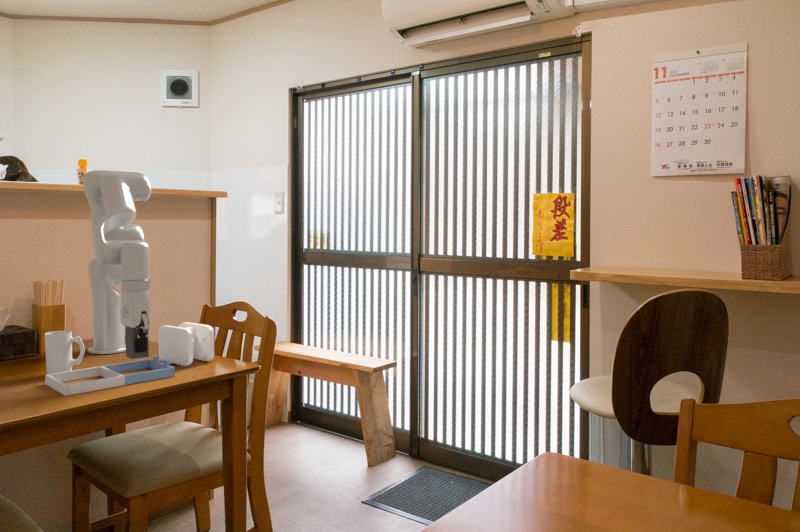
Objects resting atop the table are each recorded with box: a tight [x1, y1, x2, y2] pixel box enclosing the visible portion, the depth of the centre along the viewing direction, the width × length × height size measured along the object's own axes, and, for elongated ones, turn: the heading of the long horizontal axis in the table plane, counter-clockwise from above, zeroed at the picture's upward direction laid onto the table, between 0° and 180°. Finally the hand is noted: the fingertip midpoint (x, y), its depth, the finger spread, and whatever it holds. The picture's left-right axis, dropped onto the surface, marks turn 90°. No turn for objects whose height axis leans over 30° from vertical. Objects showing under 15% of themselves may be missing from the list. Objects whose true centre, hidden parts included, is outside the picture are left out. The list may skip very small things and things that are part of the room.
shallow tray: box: [44, 354, 176, 397], centre depth 168 cm, size 16×28×4 cm, turn 136°
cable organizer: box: [157, 321, 215, 367], centre depth 190 cm, size 15×11×12 cm
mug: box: [44, 330, 86, 375], centre depth 173 cm, size 10×7×12 cm, turn 100°
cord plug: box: [124, 325, 150, 360], centre depth 172 cm, size 4×4×12 cm
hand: (137, 349), depth 172 cm, fingers closed on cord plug, 4 cm apart
